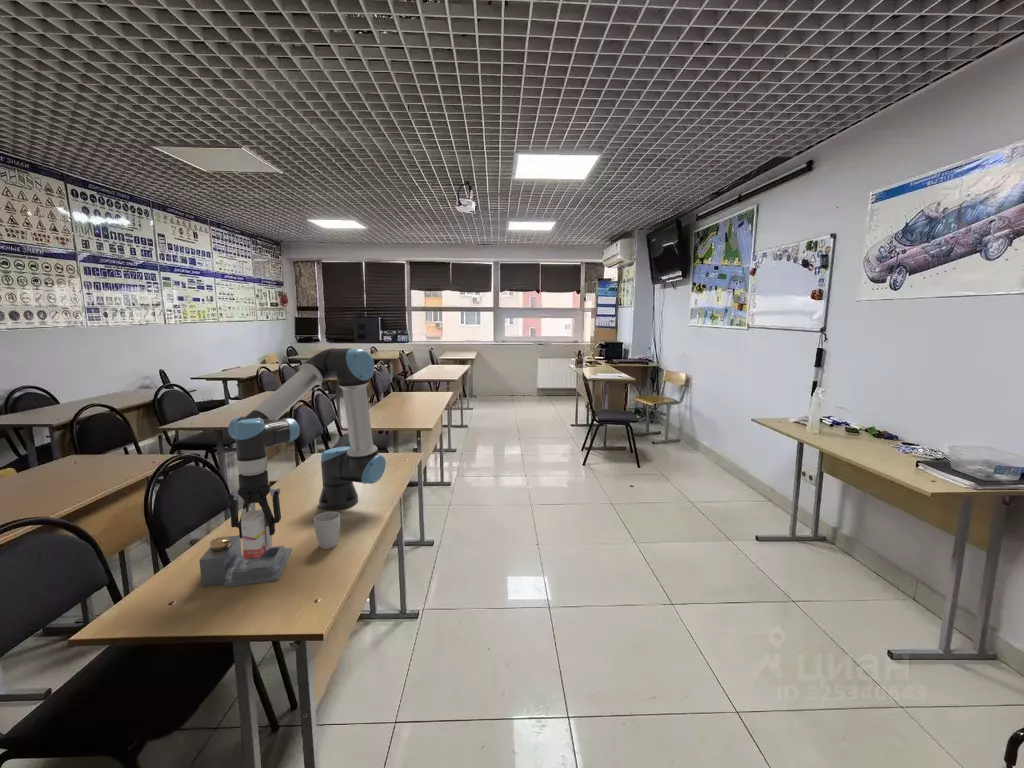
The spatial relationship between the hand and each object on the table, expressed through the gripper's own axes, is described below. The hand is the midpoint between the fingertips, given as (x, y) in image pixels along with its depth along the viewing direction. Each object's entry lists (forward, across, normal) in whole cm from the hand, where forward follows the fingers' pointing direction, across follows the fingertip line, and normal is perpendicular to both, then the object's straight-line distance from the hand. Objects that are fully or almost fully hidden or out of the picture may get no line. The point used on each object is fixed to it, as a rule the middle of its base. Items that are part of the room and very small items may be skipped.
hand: (258, 546), depth 134 cm
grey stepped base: (+7, +3, 0) cm, 8 cm away
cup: (+7, -18, -10) cm, 22 cm away
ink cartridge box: (+2, 0, 0) cm, 2 cm away
